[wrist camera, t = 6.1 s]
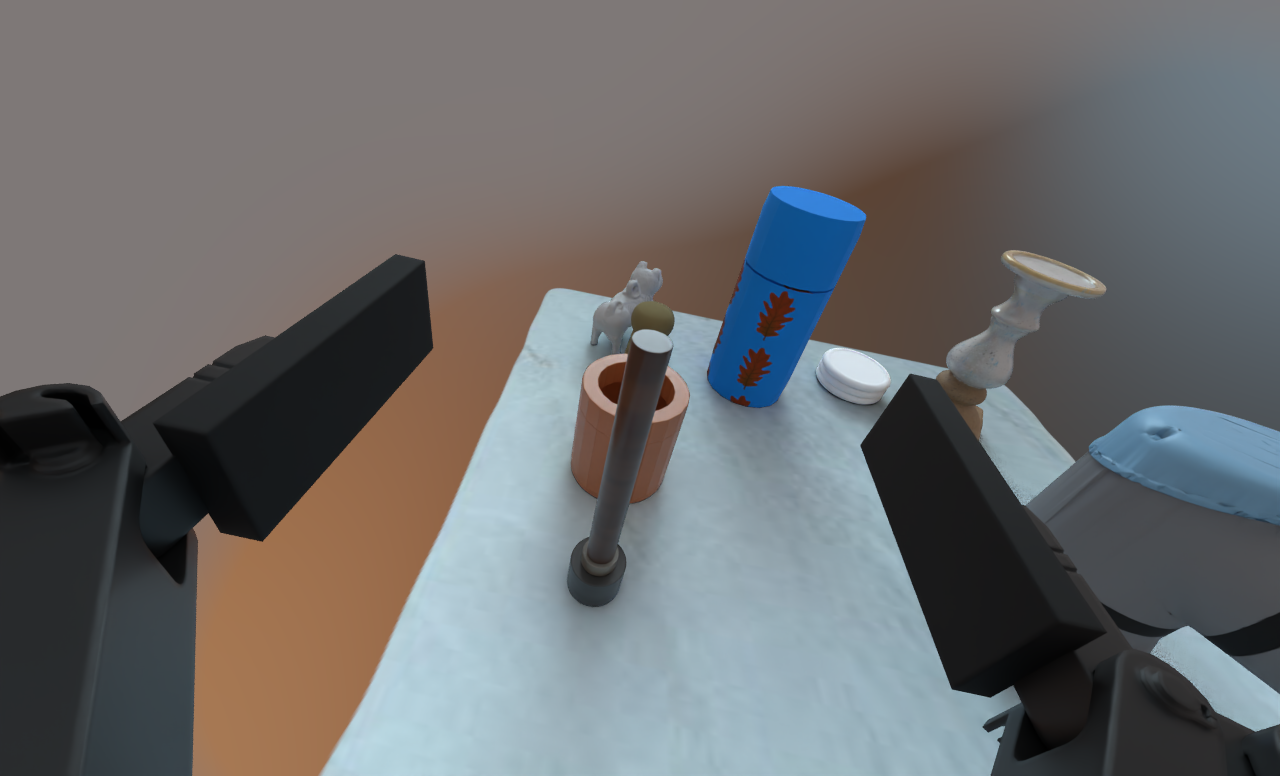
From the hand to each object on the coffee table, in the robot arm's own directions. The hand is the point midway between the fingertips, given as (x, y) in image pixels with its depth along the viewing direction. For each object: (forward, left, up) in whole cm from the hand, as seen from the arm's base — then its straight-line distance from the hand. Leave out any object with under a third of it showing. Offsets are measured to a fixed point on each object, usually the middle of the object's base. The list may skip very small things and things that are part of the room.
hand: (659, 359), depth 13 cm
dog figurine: (+33, -34, -30) cm, 56 cm away
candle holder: (-5, -60, -30) cm, 67 cm away
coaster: (+7, -57, -30) cm, 65 cm away
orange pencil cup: (+15, -17, -29) cm, 37 cm away
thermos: (+16, -42, -30) cm, 54 cm away
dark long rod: (+6, -7, -29) cm, 31 cm away
